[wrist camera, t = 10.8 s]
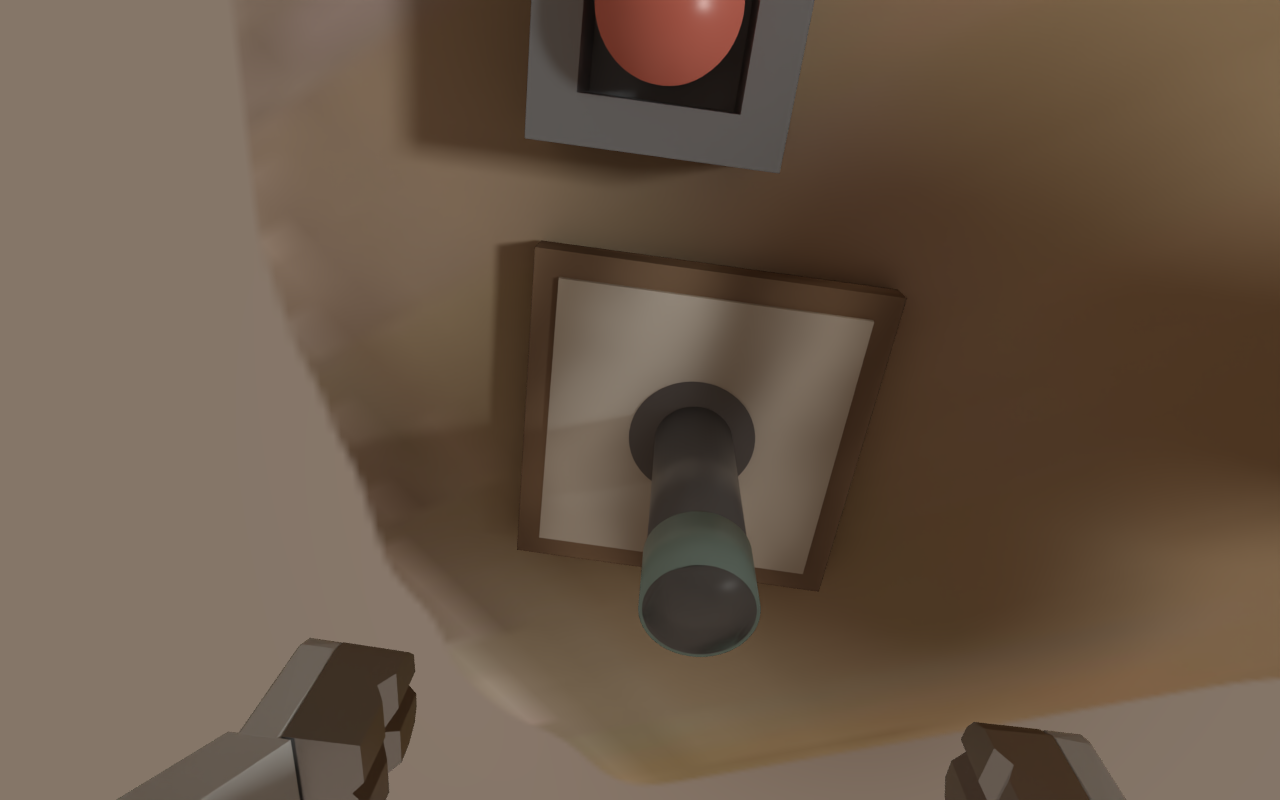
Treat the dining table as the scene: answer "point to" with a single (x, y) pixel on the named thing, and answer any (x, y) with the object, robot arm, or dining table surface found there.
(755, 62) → the button housing
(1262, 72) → the dining table surface
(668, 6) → the button
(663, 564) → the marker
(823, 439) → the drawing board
